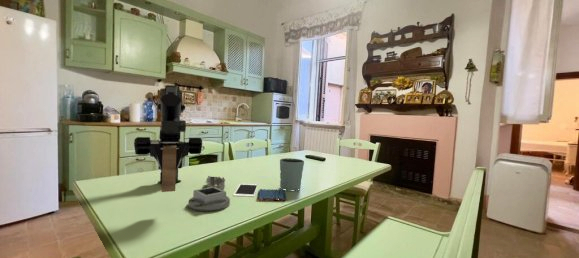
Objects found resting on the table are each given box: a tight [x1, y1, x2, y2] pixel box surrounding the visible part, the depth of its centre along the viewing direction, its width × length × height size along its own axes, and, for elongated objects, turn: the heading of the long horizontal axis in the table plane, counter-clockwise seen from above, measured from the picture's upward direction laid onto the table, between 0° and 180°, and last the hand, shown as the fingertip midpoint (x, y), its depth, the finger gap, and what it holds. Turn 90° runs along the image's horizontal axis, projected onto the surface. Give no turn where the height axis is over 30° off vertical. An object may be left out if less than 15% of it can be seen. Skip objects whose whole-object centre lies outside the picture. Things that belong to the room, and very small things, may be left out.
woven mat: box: [256, 188, 287, 202], centre depth 96 cm, size 10×11×2 cm
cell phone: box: [232, 183, 259, 198], centre depth 103 cm, size 8×16×1 cm, turn 1°
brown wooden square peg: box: [161, 146, 177, 193], centre depth 76 cm, size 4×4×13 cm
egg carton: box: [205, 175, 226, 191], centre depth 105 cm, size 11×8×4 cm
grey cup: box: [279, 157, 305, 191], centre depth 108 cm, size 10×10×12 cm
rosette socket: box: [187, 187, 231, 213], centre depth 84 cm, size 13×13×4 cm
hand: (169, 168), depth 75 cm, fingers closed on brown wooden square peg, 4 cm apart
